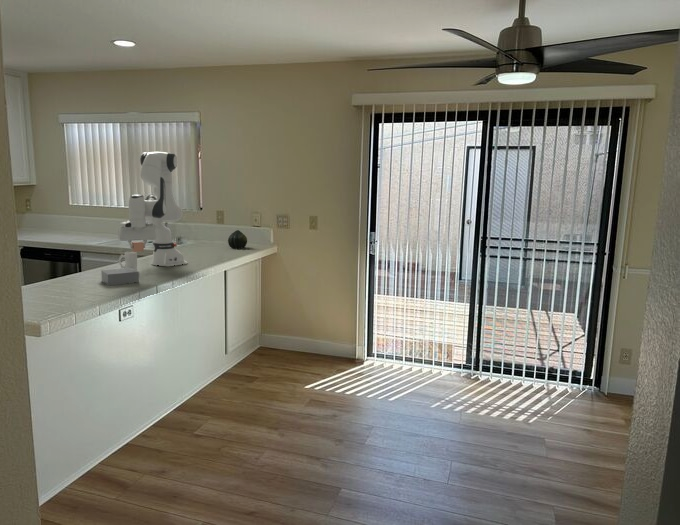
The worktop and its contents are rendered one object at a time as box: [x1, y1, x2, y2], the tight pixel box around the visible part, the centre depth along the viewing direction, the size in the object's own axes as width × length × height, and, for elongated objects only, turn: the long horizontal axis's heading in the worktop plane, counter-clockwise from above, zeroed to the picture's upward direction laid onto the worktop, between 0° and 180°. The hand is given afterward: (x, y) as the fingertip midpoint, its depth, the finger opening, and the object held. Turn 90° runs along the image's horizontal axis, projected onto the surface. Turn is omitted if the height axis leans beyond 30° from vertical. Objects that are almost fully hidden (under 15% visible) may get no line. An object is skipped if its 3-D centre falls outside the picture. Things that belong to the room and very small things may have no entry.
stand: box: [100, 268, 140, 286], centre depth 283 cm, size 16×12×6 cm
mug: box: [118, 251, 138, 271], centre depth 306 cm, size 10×7×12 cm, turn 107°
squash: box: [227, 229, 248, 250], centre depth 413 cm, size 14×15×15 cm
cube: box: [131, 241, 145, 253], centre depth 292 cm, size 5×5×5 cm
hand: (137, 248), depth 292 cm, fingers closed on cube, 5 cm apart
